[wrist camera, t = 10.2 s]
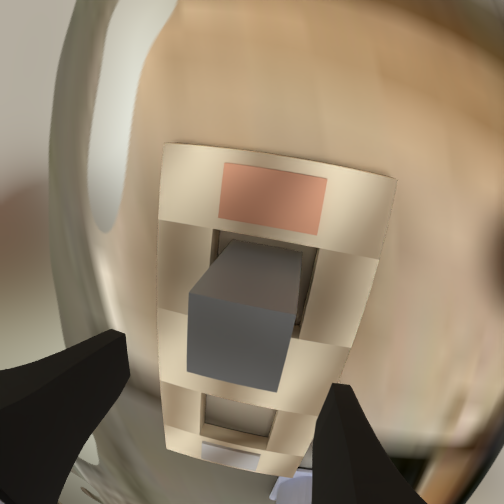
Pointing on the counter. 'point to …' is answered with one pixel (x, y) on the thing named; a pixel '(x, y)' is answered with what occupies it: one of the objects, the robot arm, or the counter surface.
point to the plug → (244, 315)
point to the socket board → (317, 302)
